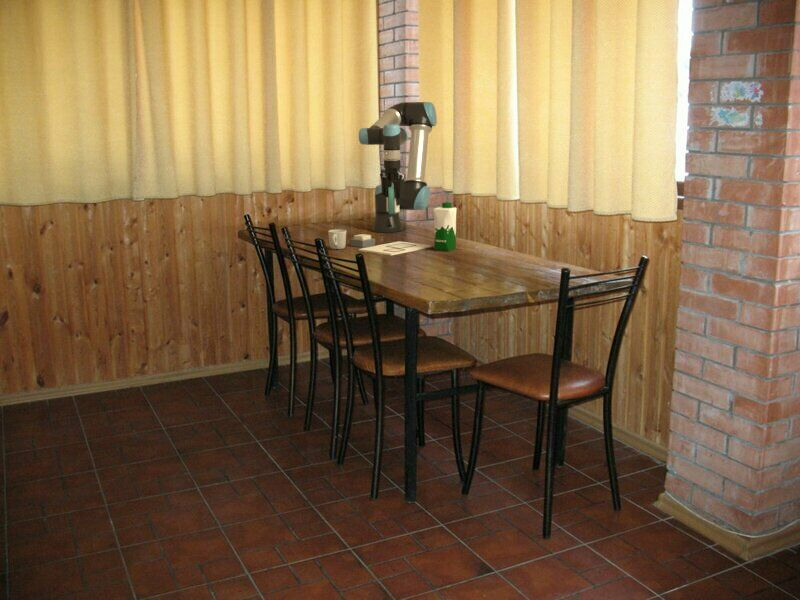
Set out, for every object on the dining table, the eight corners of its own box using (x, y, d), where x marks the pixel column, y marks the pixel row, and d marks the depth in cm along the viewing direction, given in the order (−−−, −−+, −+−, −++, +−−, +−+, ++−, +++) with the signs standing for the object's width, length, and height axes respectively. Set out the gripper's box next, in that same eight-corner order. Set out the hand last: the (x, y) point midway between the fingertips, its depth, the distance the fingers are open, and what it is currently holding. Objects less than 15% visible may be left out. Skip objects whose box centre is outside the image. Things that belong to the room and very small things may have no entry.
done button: (362, 240, 393) (362, 234, 392) (371, 241, 389) (370, 235, 389) (353, 242, 389) (353, 235, 388) (362, 243, 385) (362, 236, 385)
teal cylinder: (392, 212, 398) (392, 186, 396) (399, 213, 396) (398, 186, 393) (387, 213, 396) (386, 187, 393) (393, 214, 393) (393, 187, 390)
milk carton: (458, 248, 378) (458, 202, 373) (449, 252, 370) (449, 205, 366) (440, 247, 382) (440, 201, 377) (431, 250, 374) (430, 204, 370)
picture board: (399, 243, 395) (399, 240, 394) (431, 247, 382) (431, 245, 382) (358, 250, 376) (358, 248, 376) (391, 255, 364) (391, 253, 363)
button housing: (362, 243, 395) (362, 236, 394) (375, 245, 390) (375, 238, 389) (349, 245, 389) (349, 239, 389) (362, 247, 384) (362, 240, 383)
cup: (342, 251, 375) (341, 233, 373) (324, 251, 376) (324, 232, 375) (348, 247, 385) (348, 229, 383) (331, 247, 387) (330, 229, 385)
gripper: (372, 159, 393) (373, 211, 398) (400, 161, 382) (401, 214, 387) (384, 158, 398) (385, 209, 404) (411, 159, 387) (412, 212, 393)
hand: (393, 211), depth 395 cm, fingers closed on teal cylinder, 4 cm apart
